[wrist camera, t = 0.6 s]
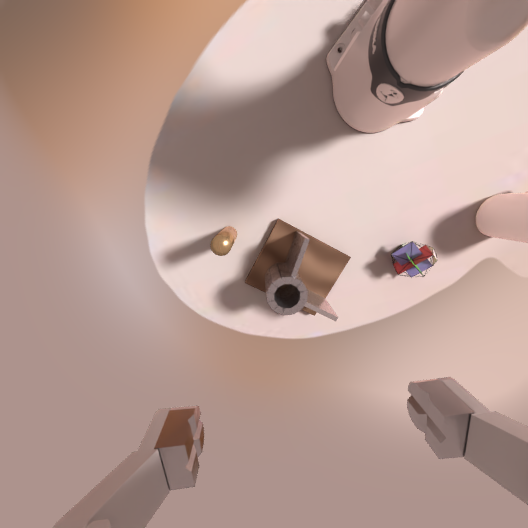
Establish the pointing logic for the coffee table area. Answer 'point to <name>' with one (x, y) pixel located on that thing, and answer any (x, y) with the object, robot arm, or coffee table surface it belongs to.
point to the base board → (312, 266)
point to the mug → (504, 217)
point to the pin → (223, 241)
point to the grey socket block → (293, 284)
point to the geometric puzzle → (413, 259)
